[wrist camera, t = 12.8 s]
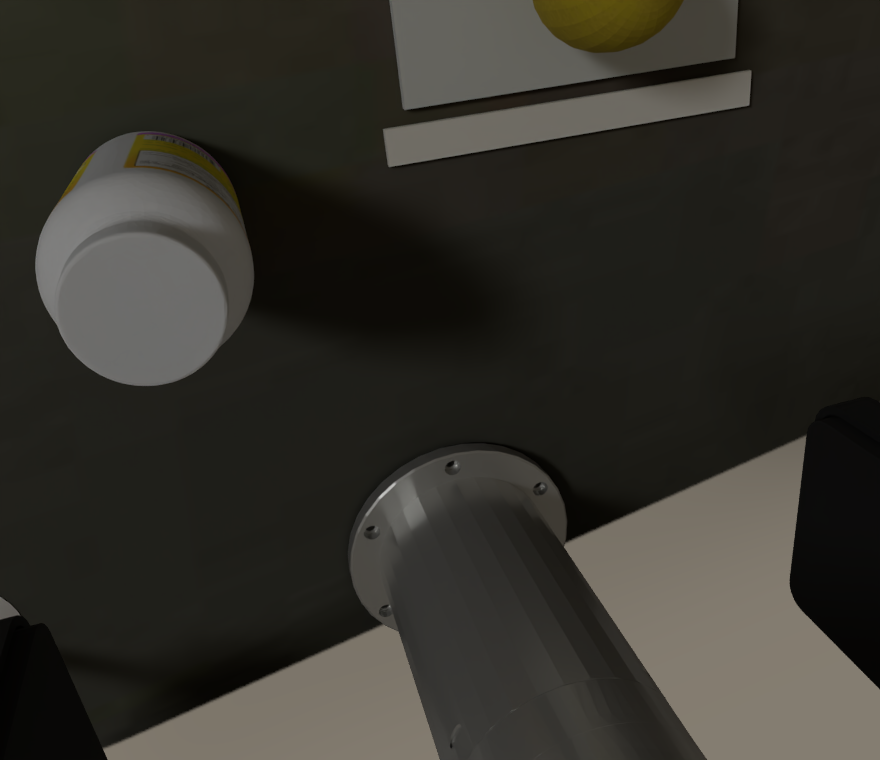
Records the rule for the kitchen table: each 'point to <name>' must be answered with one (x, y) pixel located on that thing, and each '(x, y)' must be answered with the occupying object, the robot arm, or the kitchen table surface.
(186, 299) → the supplement bottle
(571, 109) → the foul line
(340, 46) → the kitchen table surface
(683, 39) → the mat
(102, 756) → the robot arm
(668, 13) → the lemon
